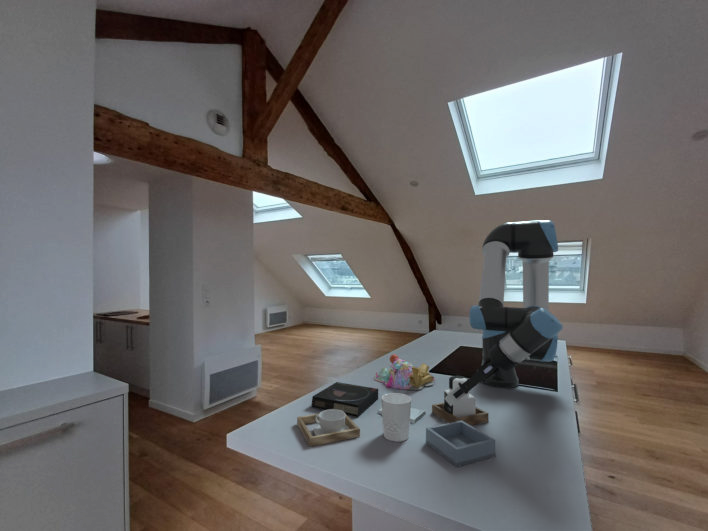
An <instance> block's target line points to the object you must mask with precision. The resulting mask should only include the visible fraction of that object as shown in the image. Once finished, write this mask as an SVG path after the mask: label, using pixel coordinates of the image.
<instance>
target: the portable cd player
mask: <svg viewBox="0 0 708 531" xmlns="http://www.w3.org/2000/svg"><path fill="white" fill-rule="evenodd" d="M378 400H379V388H374V387H369V386H363V385H358V384H357V385H356V384H350V383H345V382H338V381H336V382H334V383H332V384H331V385H330V386H328V387H326V388H324V389H323V390H320V391H319V392H317V393H315V394H314V395H313V396H312V398H311V408H312V409H317V410H320V411H324V410H329V409H336V410H342V411H343V412H344V413H345V414H346V415H347V416H348V417H350V416H351V417H354V418H359V417H360V416H361V415H363V414H364V413H365V412H366V411H367V410H368V409H370V407H372V406H373V405H374V404H375V403H376V402H377V401H378Z"/></svg>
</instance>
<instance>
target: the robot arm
mask: <svg viewBox="0 0 708 531" xmlns="http://www.w3.org/2000/svg"><path fill="white" fill-rule="evenodd" d="M556 230H557V229H556V226H555V224H554V222H553V220H549V219H548V220H544V219H543V220H540V219H536V220H525V221H524V220H523V221H514V222H513V221H511V222H509V221H508V222H505V223H501V224H499V225H498V226H495V227H494V228H493V229H492V230H491V231H490V232H489V233H488V234H487V236H486V237H485V239H484V241H483V244H482V246H481V247H482V248H481V253H482V255H483V263H482V271H481V272H482V273H481V279H480V287H479V288H480V289H479V296H478V304H476V305H471V307H470V309H469V325H470V327H471V328H472V329H474V330H479V331H482V336H481V339H482V361H481V365H480V367H479V368H477V369H476V372H475V373H474V374H472V376H470V377H469V378H468V380H467V381H465V382H464V383H463V384H461V383H460V382H459V383H458V385H459V386H458V387H457V388H456V389H455V390H454V391H452V392H451V393H450V394H449V395H447V396H446V397H445V398H444V397H443V398H444V399H445V400H446V401H447V402H448V404H449V405H450V406H452V405H453V404H454V403H456V402H457V401H458V400H459V399H461V398H462V397H463V396H464V395H466V394H467V393H468V392H469V391H470V392H471V391H472V389H474V388H475V387H476V386H478V385H479V384H480V383H481V384H483V385H486V386H491V387H495V388H504V389H505V388H507V389H511V388H516V387H518V386H519V377H518V375H517V373H516V367H517V366H518V365H519V363H522V362H523V361H524V360H527V361H529V360H530V361H538V362H553V361H554V360H555V359H556V356H557V352H558V351H557V349H558V340H559V333H561V331H562V330H563V329H564V326H563V323H562V322H561V321H560V320H559V319H558V318H557V317H556V316H555V314H553V313H552V312H550V311H549V310H550V306H549V304H550V298H549V297H550V296H549V294H550V288H549V287H550V285H549V284H550V283H549V282H550V281H549V280H550V278H549V277H550V276H549V274H550V273H549V270H550V269H549V267H550V265H549V264H550V261H551V260H552V259H554V253H557V252H558V251H559V244H558V243H559V242H558V236H557V231H556ZM510 253H511V254H515V253H516V254H517V258H518V259H519V260H520V261H521V262H522V306H523V307H515V306H512V307H509V306H504V305H505V304H504V302H505V301H504V300H505V284H506V269H507V268H506V266H507V258H508V257H509V256H510ZM465 386H466V387H465ZM444 399H443V400H444Z"/></svg>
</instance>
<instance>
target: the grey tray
mask: <svg viewBox="0 0 708 531" xmlns="http://www.w3.org/2000/svg"><path fill="white" fill-rule="evenodd" d="M425 443H426V444H427V445H428V446H429V447H431V448H432V449H433V450H435V451H436V452H437V453H439V454H440V455H441V456H442V457H443V458H445V459H446V460H447V459H448V460H447V461H448V462H450V463H451V464H453V466H455V467H456V468H457V467H461V466H465V465H468V464H473V463H476V462H480V461H483V460H486V459H490V458H494V457H496V439H494V438H492V437H491V436H489V435H488V434H486V433H484V432H482V431H481V430H479V429H478V428H476V427H474V426H473V425H471V426H470V425H469V424H467V423H465V422H464V421H462V420H461V421H457V422H452V423H448V422H446V423H443V424H438V425H437V424H436V425H432V426H428V427H425Z"/></svg>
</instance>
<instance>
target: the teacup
mask: <svg viewBox="0 0 708 531" xmlns="http://www.w3.org/2000/svg"><path fill="white" fill-rule="evenodd" d="M318 414H319V415H317V416H316V417H315V421H316V422H315V423H316V424H317V425H316V426H315V427H314V429H313V433H314V434H315V435H314V436H317V435H323V434H328V433H333V432H339V431H344V430H349V429H350V428H349V427H348V426H347V425H346V424H345V417H346V414H345V413H344V412H343V411H341V410H336V409H329V410H321V411H320V412H319V413H318ZM317 417H318V418H319V421H318V419H317Z"/></svg>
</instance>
